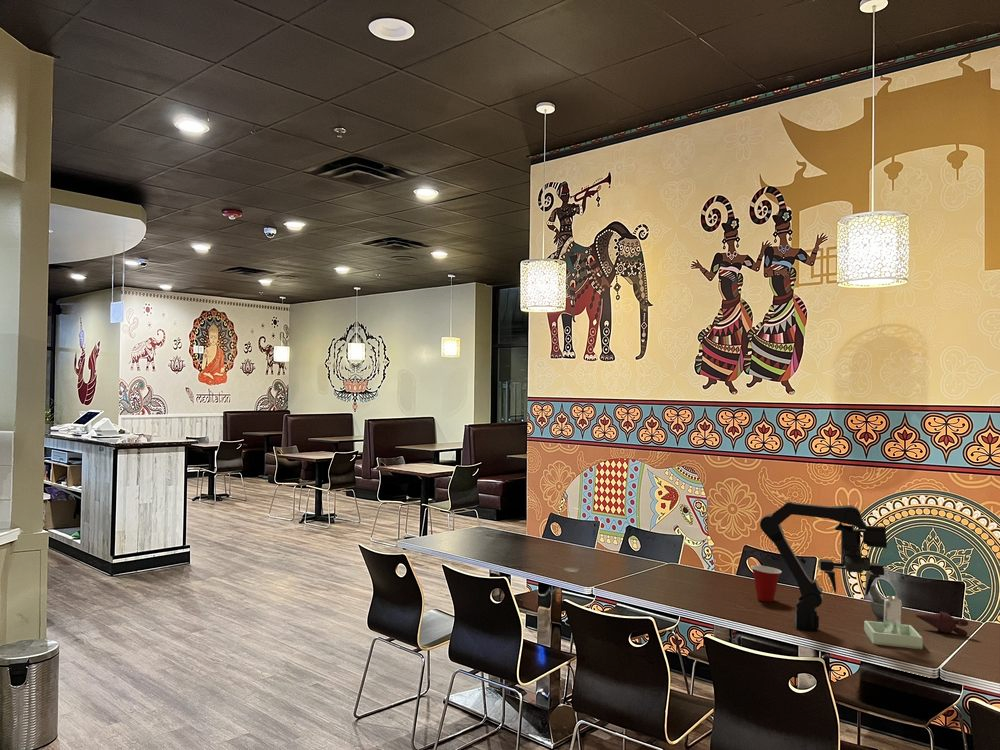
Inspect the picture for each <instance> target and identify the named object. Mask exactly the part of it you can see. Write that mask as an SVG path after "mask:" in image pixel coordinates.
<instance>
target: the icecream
mask: <svg viewBox="0 0 1000 750" xmlns="http://www.w3.org/2000/svg"><path fill="white" fill-rule="evenodd" d="M915 617H916V618H918V619H919V620H922V621H923V622H925V623H927V624H929V625H930V626H931V627H933V628H935V629H937V632H938V633H940V632H941V633H943V634H944V633H945V634H949V633H952V632H954V633H956V634H957V635H959V636H962V637H963V636H964V637H967V636H968V631H966V630H965V629H963V628H960V627H967V626H969V622H968V620H967V619H965V618H954V617H953V616H952V615H950V614H949V613H947V612H943V611H940V612H939V613H925V614H924V613H923V614H922V613H921V614H916V615H915ZM958 626H960V627H958Z"/></svg>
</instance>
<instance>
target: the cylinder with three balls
mask: <svg viewBox="0 0 1000 750" xmlns="http://www.w3.org/2000/svg"><path fill="white" fill-rule="evenodd" d="M883 599H884V631H883V633H888V634H898V635H901V624H902V613H901V604H902V600H901V599H899V598H898V597H897V596H895V595H893V596H890V595H887V596H885V597H884V598H883Z"/></svg>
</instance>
